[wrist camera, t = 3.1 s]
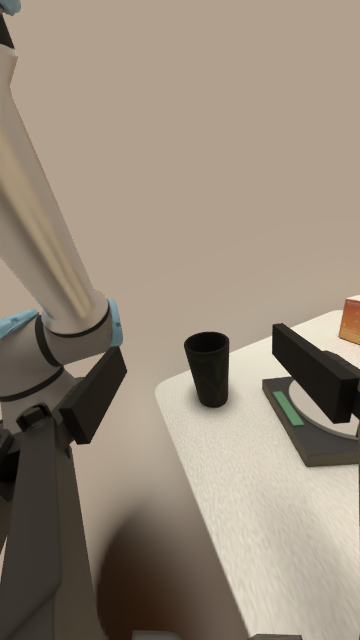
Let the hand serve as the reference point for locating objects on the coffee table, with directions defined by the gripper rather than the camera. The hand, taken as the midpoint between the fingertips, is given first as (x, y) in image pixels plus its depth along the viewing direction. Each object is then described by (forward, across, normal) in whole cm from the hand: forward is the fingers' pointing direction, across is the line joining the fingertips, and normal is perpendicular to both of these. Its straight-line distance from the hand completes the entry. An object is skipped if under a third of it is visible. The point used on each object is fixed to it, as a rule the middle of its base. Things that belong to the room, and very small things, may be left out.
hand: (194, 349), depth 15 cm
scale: (+7, +18, -18) cm, 27 cm away
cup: (+13, +2, -19) cm, 23 cm away
